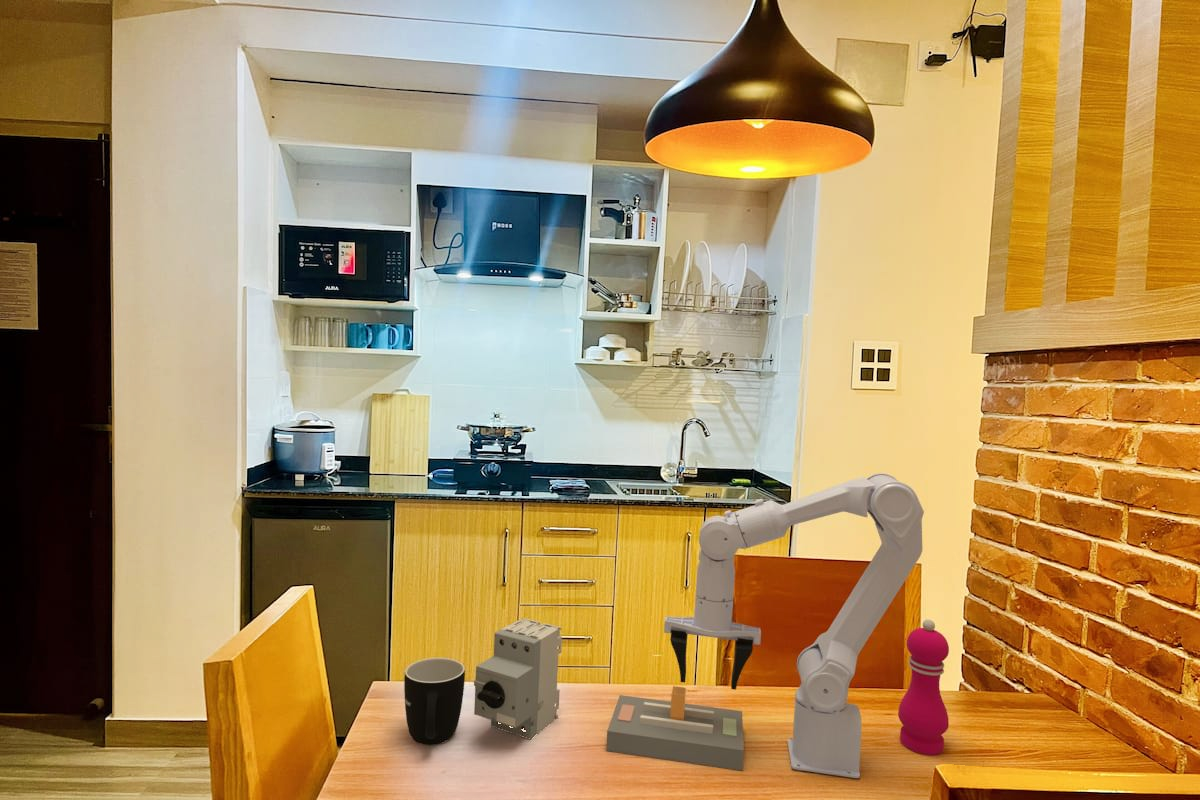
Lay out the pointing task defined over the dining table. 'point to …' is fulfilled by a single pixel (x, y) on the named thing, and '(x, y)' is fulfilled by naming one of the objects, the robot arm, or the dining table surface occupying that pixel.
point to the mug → (433, 699)
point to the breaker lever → (678, 703)
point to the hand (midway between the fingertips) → (708, 683)
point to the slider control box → (677, 733)
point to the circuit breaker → (520, 678)
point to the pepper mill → (924, 692)
